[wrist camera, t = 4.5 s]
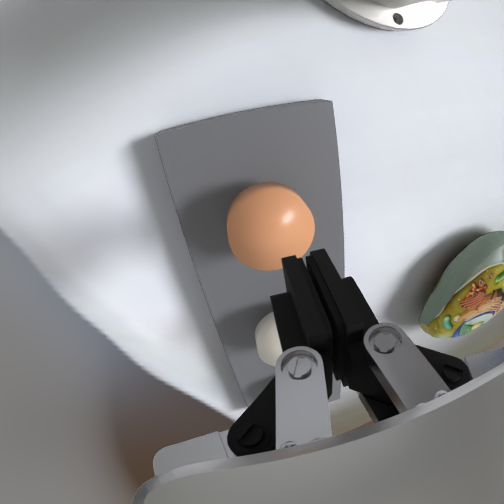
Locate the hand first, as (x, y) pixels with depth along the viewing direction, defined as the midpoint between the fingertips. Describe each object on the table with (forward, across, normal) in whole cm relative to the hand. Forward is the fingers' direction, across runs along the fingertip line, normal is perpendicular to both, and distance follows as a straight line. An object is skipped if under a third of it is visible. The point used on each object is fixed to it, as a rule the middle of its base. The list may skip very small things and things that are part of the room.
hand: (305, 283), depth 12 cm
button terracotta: (+6, +1, 0) cm, 6 cm away
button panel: (+9, +1, +9) cm, 13 cm away
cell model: (+10, -20, +13) cm, 26 cm away
